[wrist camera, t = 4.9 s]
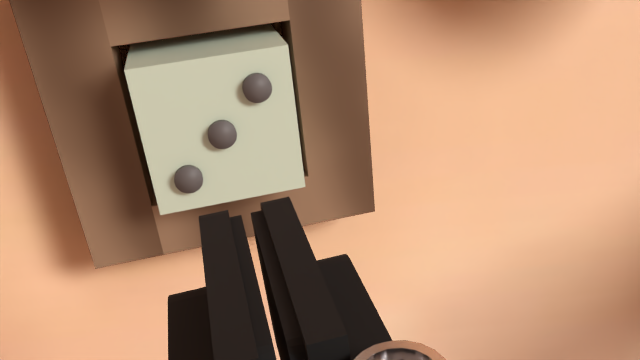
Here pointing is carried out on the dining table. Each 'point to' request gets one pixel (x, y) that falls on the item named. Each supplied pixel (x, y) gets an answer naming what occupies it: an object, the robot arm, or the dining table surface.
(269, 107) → the pale green block
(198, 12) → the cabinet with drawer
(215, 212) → the robot arm
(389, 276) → the dining table surface
